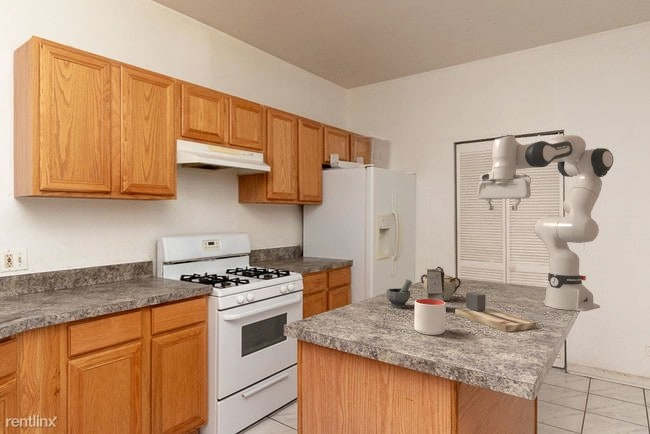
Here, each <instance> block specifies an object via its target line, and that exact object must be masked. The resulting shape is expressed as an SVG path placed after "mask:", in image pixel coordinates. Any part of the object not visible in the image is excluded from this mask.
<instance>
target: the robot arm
mask: <svg viewBox="0 0 650 434" xmlns="http://www.w3.org/2000/svg"><path fill="white" fill-rule="evenodd" d="M586 148H587V143H586V141H585V140H584V138H582V137H581V136H579V135H573V134H571V135H570V134H566V135H559V136H556V137H552V138H550V139H549V140H547V141H545V140H540V141H535V142H533V143H532V142H531V143H527V144H521V143H520V142H518V141H517V140H516V136H515V135H513V134H506V135H502V136H498V137H496V138H495V139H494V141H493V145H492V151H491V153H492V154H491V157H492V158H491V159H492V166H491V171H488V172H486V173H483V174H481V175H480V176H479V181H480V182H478V184H477V185H478V186H477V192H476V193H477V194H476V196H477V198H478V199H479V200H485V203H486V204H487V206H488V208H487V209H488V211H494V210H495V206H494V205H493V204H492V203H491V202H492V200H503V199H504V200H506V199H507V200H508V199H510V200H511V199H514V201H515V203H514V204H513V205H511V210H512V211H518V207H519V205H520V203H521V201H522V200H521V199H529V198H530V197H531V195H532V194H531V181H532V180H531V177H530V175H527V174H517V173H516V172H517V170H524V169H525V170H526V169H532V168H533V169H534V168H545V167H548V166H549V165H550V164H551V163H557V171H558V172H559V173H560V175H561V176H563V177H570V178H572V177H576V181H575V182H574V184H573V185H572V187H571V188H570V190H569V191H568V193H567V195H566V197H565V199H564V201H563V203H562V206H563V209H564V211H565V212H566V214H567V215H566V216H545V217H541V218H538V220H537V221H536V222H535V225H534V233H535V235H536V237H537V238H539V239H540V241H541V242H542V243H543V244H544V246H545V248H546V250H547V255H548V260H549V263H548V264H549V272H548V274H547V281H548V283H547V284H546V292H545V298H544V299H543V303H544V305H545V306H547V307H549V308H553V309H559V310H566V311H576V312H588V311H592V310H596V309H597V310H598V309H600V308H601V306H600V304H597V303H594V295H593V293H592V292H591V291H590V290H589V289H588V288H587V287H586V286H585V285H583V281H586V279H587V276H586V275H580V257H579V255H578V254H577V253H575V252H574V251H572V250H571V249H570V247H569V245H568V243H576V244H582V243H583V244H584V243H589V242H590V243H591V242H593V241H595V240H596V239H597V237H598V234H599V232H600V230H599V226H598V223H597V221H596V220H595V219H593V218H592V211H593V209H594V206H595V204H596V202H597V201H598V198H599V196H600V195H601V190H602V188H603V187H602V185H603V181H602V179H601V178H604V176H606V175H607V174H608V172H609V171H610V170H611V168H612V166H613V164H614V155H613V152H611V151H610V150H609V149H608V148H603V147H599V148H598V147H596V148H594V149H593V148H592V149H586Z"/></svg>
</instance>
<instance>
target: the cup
mask: <svg viewBox="0 0 650 434" xmlns="http://www.w3.org/2000/svg"><path fill="white" fill-rule="evenodd" d="M446 307H447V305H446V302H445V300H444V301H441V300H436V299H427V298H420V299H415V301H414V329H415V331H416V332H418V333H420V334H422V335H426V336H438V335H439V336H440V335H442V334H444V333H445V331H446V314H447V313H446V310H447V309H446Z"/></svg>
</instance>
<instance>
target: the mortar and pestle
mask: <svg viewBox="0 0 650 434" xmlns="http://www.w3.org/2000/svg"><path fill="white" fill-rule="evenodd" d="M412 284H413V282H412V280H410V279H406V280H405V282H404V283H403V286H402V287H401V288H396V287H395V288H388V289H387V290H386V297H387V299H388V301H389V302H390V307H391V308H394V309H405V308H406V306H407V305H406V304H407V302H408V301H409V299H410V297H411V290H410V287H411V285H412Z"/></svg>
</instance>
